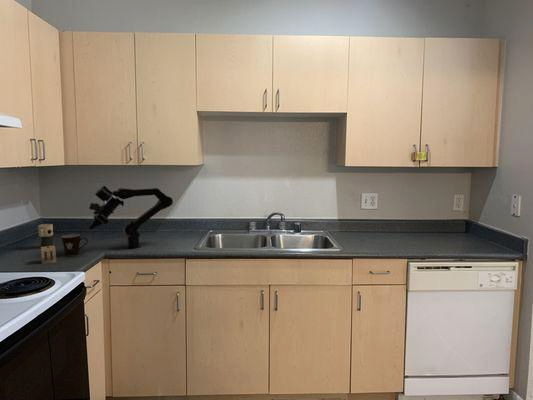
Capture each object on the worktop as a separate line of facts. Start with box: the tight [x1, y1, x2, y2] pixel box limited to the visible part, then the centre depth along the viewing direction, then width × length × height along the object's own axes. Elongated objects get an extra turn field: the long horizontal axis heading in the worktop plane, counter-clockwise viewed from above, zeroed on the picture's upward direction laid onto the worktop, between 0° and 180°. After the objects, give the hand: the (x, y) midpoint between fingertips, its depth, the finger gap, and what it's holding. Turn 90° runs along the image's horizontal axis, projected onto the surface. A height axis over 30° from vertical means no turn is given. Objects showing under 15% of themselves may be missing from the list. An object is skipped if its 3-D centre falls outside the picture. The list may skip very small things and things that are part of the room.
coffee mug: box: [61, 233, 89, 256], centre depth 201 cm, size 12×9×10 cm
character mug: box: [37, 223, 54, 248], centre depth 217 cm, size 11×7×13 cm, turn 3°
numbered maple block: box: [40, 245, 57, 265], centre depth 188 cm, size 6×6×7 cm
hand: (89, 228), depth 204 cm, fingers closed
